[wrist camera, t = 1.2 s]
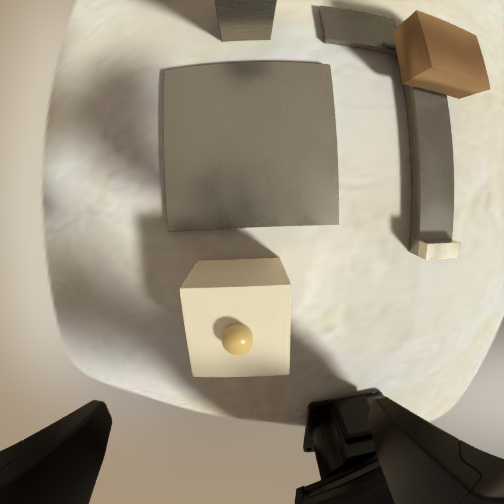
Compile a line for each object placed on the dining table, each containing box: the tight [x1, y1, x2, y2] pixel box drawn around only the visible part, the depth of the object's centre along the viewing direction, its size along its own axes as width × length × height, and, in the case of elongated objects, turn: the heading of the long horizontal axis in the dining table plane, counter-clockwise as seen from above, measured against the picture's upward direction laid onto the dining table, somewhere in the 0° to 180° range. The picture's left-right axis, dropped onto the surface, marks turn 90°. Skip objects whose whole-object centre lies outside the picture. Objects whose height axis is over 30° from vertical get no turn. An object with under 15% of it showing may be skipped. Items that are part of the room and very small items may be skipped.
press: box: [163, 0, 460, 260], centre depth 11 cm, size 18×18×9 cm
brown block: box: [392, 10, 490, 99], centre depth 11 cm, size 4×5×4 cm
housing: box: [180, 257, 291, 377], centre depth 15 cm, size 5×5×6 cm
